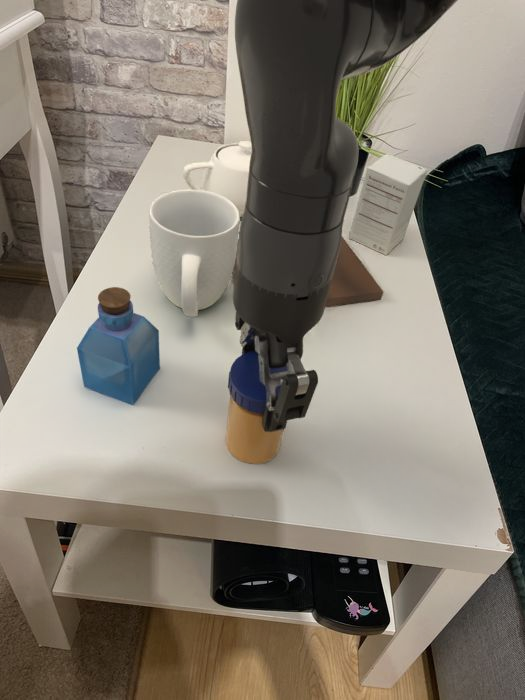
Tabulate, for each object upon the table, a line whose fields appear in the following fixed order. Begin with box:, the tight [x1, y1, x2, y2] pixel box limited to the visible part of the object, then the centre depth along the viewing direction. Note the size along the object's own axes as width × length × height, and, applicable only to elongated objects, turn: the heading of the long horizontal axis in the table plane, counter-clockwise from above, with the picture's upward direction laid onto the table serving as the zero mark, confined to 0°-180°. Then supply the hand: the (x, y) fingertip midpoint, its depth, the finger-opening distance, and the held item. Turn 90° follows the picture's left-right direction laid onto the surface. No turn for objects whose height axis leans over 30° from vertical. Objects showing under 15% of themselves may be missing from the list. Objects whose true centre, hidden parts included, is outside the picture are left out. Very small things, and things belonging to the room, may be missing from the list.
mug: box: [148, 188, 241, 318], centre depth 66 cm, size 15×11×13 cm
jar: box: [224, 394, 285, 465], centre depth 53 cm, size 6×6×10 cm
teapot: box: [182, 140, 252, 218], centre depth 88 cm, size 22×14×11 cm, turn 109°
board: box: [231, 236, 384, 308], centre depth 78 cm, size 20×16×2 cm
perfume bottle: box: [76, 286, 161, 406], centre depth 56 cm, size 6×6×12 cm
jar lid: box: [227, 351, 287, 414], centre depth 50 cm, size 7×7×2 cm
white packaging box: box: [348, 153, 428, 256], centre depth 84 cm, size 7×7×13 cm
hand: (261, 399), depth 52 cm, fingers closed on jar lid, 6 cm apart
